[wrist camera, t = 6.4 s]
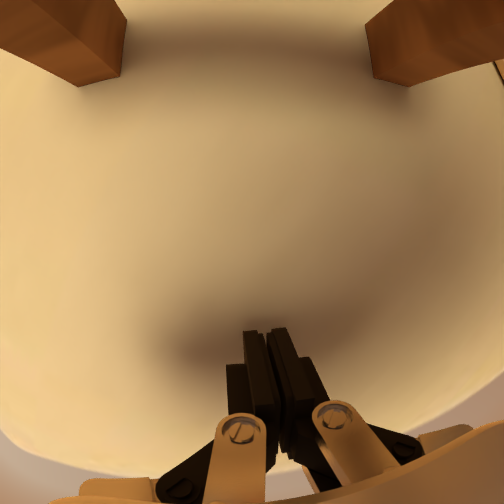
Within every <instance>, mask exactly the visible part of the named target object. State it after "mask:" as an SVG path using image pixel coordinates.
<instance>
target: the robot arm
mask: <svg viewBox="0 0 504 504" xmlns="http://www.w3.org/2000/svg"><path fill="white" fill-rule="evenodd" d="M495 63H496V65H497V67H498V69H499V72H500V74H501V76H502V78H503V80H504V59H501V60H497V61H495ZM243 343H244V362H245V364H230V365H226V375H227V395H228V413H229V416H227V417H225V418H223V419H222V420H221V421H220V422H219V424H218V426H217V428H216V433H215V439H214V440H212V441H211V442H210V443H208V444H207V445H206V446H204V447H203V448H202V449H200V450H199V451H198V452H196V453H195V454H194V455H192V456H191V457H189V458H188V459H186V460H185V461H184V462H182V463H181V464H179V465H178V466H176V467H175V468H173V469H172V470H170V471H169V472H167V473H166V474H164V475H163V476H162V477H161V478H159V479H149V477H143V478H118V479H104V478H94V479H89V480H87V481H85V482H83V484H82V485H81V486H80V489H79V496H74V497H65V498H61V499H57V500H54V501H51V502H50V503H48V504H504V420H500V421H496V422H492V423H488V424H485V425H483V426H480V427H478V428H476V429H473V428H472V427H470V426H469V425H465V424H460V425H456V426H452V427H449V428H445V429H441V430H438V431H434V432H430V433H425V434H421V435H419V436H418V438H414V437H411V436H409V435H405V434H401V433H397V432H394V431H390V430H387V429H384V428H380V427H377V426H374V425H371V424H368V423H366V422H365V421H364V420H363V418H362V417H361V416H360V415H359V413H358V412H357V411H356V409H355V408H354V407H352V406H351V405H350V404H348V403H346V402H343V401H338V400H331V401H330V399H329V397H328V395H327V392H326V390H325V388H324V386H323V384H322V382H321V380H320V377H319V375H318V373H317V371H316V369H315V367H314V365H313V363H312V361H311V359H310V357H302V358H299V357H298V355H297V353H296V350H295V348H294V345H293V343H292V340H291V338H290V336H289V333H288V331H287V329H286V328H275V329H272V330H271V332H270V333H267V336H266V343H265V339H264V336H263V333H259V334H258V332H257V330H251V331H243ZM278 444H280V448H281V452H282V453H286V452H287V455H288V458H289V460H290V459H293V460H294V461H295V462H297V463H299V464H301V465H302V469H303V471H304V473H305V475H306V477H307V479H308V481H309V483H310V485H311V487H312V489H313V491H314V492H315V494H312V495H307V496H302V497H297V498H291V499H286V500H278V501H271V502H265V476H266V473H267V472H268V471H269V470H270V469H271V468H272V467H273V466H274V465H275V461H276V454H278Z"/></svg>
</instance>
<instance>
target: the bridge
mask: <svg viewBox="0 0 504 504" xmlns="http://www.w3.org/2000/svg"><path fill="white" fill-rule="evenodd" d="M126 23H127V19H126V18H125V16H124V15H123V13H122V12H121V10H120V8H119V7H118V5H117V4H116V2H115V1H114V0H0V48H1V49H3V50H5V51H7V52H10V53H12V54H14V55H16V56H18V57H20V58H22V59H24V60H26V61H28V62H31V63H33V64H35V65H37V66H39V67H41V68H42V69H44V70H46V71H48V72H50V73H52V74H54V75H56V76H58V77H60V78H62V79H64V80H66V81H67V82H69V83H71V84H73V85H75V86H77V87H80V86H84V85H87V84H91V83H94V82H98V81H102V80H106V79H110V78H115V77H119V76H120V69H121V59H122V50H123V43H124V36H125V29H126ZM365 27H366V32H367V37H368V43H369V48H370V54H371V61H372V68H373V75H374V78H377V79H381V80H385V81H389V82H393V83H396V84H400V85H403V86H407V87H411V86H413V85H416V84H419V83H422V82H425V81H428V80H431V79H434V78H437V77H440V76H443V75H446V74H449V73H452V72H456V71H459V70H463V69H466V68H470V67H473V66H477V65H481V64H485V63H489V62H493V61H497V60H501V59H504V0H394V1H392V2H391V3H390V4H389V5H387V6H386V7H385V8H384V9H383V10H382V11H380V12H379V13H378V14H377V15H376V16H374V17H373V18H372V19H371V20H370V21H369V22H368V23H366V24H365Z"/></svg>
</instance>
